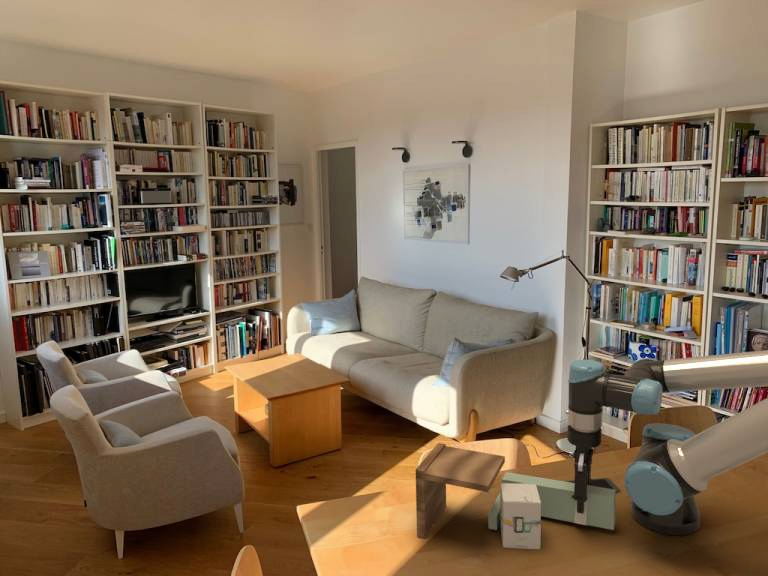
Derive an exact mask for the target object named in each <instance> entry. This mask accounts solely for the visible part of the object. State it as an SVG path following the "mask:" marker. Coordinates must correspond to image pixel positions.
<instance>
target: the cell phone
mask: <svg viewBox="0 0 768 576" xmlns="http://www.w3.org/2000/svg"><path fill="white" fill-rule="evenodd" d="M564 481H565V482H571V483H575V479H574V480H573V479H572V480H564ZM590 483H591V484H593V486H596V487H602V488H608V489H614V490H616V494H619V493H618V492H620V493H621V489H620V488H619V487H618V486H617V485H616V483H614V481H612V479H610V478H608V477H602V478H601V477H599V478H591V481H590Z"/></svg>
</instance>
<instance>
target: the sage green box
mask: <svg viewBox="0 0 768 576" xmlns="http://www.w3.org/2000/svg"><path fill="white" fill-rule="evenodd" d="M565 481H566V480H557V479H551V478H545V477H539V476H532V475H526V474H521V473H514V472H508V471H506V472H505V473H504V474H503V476H502V478H501V483H518V484H536V486H537V490H538V493H539V497H540V501H541V517H542V518H543V517H544V518H549V519H553V520H559V521H565V522H570V523H574V514H575V500H574V499H573V498H572V495H574V485H575V483H571V482H565ZM616 494H617V493H616V490H614V489H608V488H602V487H596V486H590V485H587V524H586V525H585V526H591V527H595V528H599V529H600V528H601V529H606V530H612V531H614V530H615V523H616ZM487 521H488V530H493V531H498V529H499V528H500V492H499V494H498V495H497V498H496V500H495V501H494V503H493V505H492V507H491V509H490V511H489V513H488V515H487Z"/></svg>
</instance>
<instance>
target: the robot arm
mask: <svg viewBox="0 0 768 576" xmlns="http://www.w3.org/2000/svg"><path fill="white" fill-rule="evenodd" d="M567 382H568V404H567V405H568V409H567V410H565V411H564V412H565V414H566V415H568V417H567V423H568V425H567V435H566V436H567V441H568V442H569V443H570V444H571V445H572V446H575V449H574V451H573V458H574V463H573V465H574V480H575V485H574V495H572V498H573V499H574V500H575V514H574V522H573V523H574V524H578V525H583V526H587V525H586V524H587V485H590V486H593V484H591V483H590V481H591V479H592V478H591V476H592V463H593V455H594V448H597V447H599V446H601V444H602V434H603V433H602V431H603V430H602V427H603V413H604V412H603V407H606V408H610V409H616V410H621V411H626V412H630V413H635V414H638V415H649V416H655V415H657V414H659V412H660V410H661V407H662V402H663V394H664V393H665V394H667V393H679V392H698V391H712V390H713V391H714V390H729V389H731V390H732V389H745V388H762V387H763V388H764V387H768V349H767V350H756V351H745V352H736V353H735V352H734V353H733V352H732V353H724V354H715V355H712V354H711V355H705V356H704V355H703V356H694V357H685V358H684V357H683V358H674V359H663V360H662V359H661V360H660V359H659V360H657V359H655V358H651V357H644V358H643V357H642V358H640V359H638V360H637V361H635V362H633V364H632V365H631V366H630V367H629V369H628V370H627V371H626V372H625V374H623V375H620V374H613V373H609V372H606V370H605V366H604V364H603V363H602V362H601V361H596V360H593V359H584V358H583V359H577V360H574V361H572V363H571V364H570V366H569V373H568V380H567ZM641 435H642V436H641V437H642V441H641V446H640V448H639V450H638V452H637V454H636V455H635V457H634V458H633V460H632V462H631V463H630V464H629V466H628V467H627V469H626V473H625V475H624V487H625V491H626V493H627V495H628V496H629V498H630V500H631V506H630V513H631V516H632V518H633V519H634V520H635V521H636V522H637V523H638V524H640V525H641V526H643V527H645V528H647V529H649V530H651V531H653V532H656V533H659V534H664V535H670V536H687V535H692V534H694V533H696V532H697V531H698V530H699V529H700V527H701V513H700V510H699V507H698V502H697V499H696V497H695V496H697V495H699V494H700V493H702V492H705V491H706V490H707V488H708V481H709V480H710V479H713V478H715V477H717V476H719V475H723V474H724V473H726V472H728V471H731V470H733V469H735V468H737V467H740V466H741V465H744V464H745V463H747V462H750V461H753V460H754V459H757V458H759V457H760V456H763V455H765V454H768V397H767V398H764V399H763V400H761V401H758V402H756V403H755V404H753V405H751V406H749V407H747V408H745V409H743V410H741V411H740V412H739V411H738V412H737V413H736V414H734V415H732V416H730V417H727V418H726V419H724V420H722V421H720V422H718V423H716V424H714V425H712V426H710V427H708V428H706V429H704V430H703V431H700V432H699V433H695V432H694V431H692V430H690V429H688V428H686V427H683V426H680V425H675V424H671V423H670V424H669V423H663V422H662V423H661V422H654V423H648V424H646V425H645V426H644V427H643V429H642V433H641Z"/></svg>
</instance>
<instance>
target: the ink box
mask: <svg viewBox="0 0 768 576" xmlns="http://www.w3.org/2000/svg"><path fill="white" fill-rule="evenodd" d="M499 485H500V488H499V489H500V492H499V493H500V525H499V528H500V535H501V543H502V548H507V549H524V550H540V549H541V541H542V539H541V537H542V536H541V534H542V533H541V532H542V529H541V528H542V525H541V523H542V522H541V521H542V518H541V517H542V516H541V501H540V497H539V493H538V490H537V486H536V484H518V483H502V482H500V484H499Z"/></svg>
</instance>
